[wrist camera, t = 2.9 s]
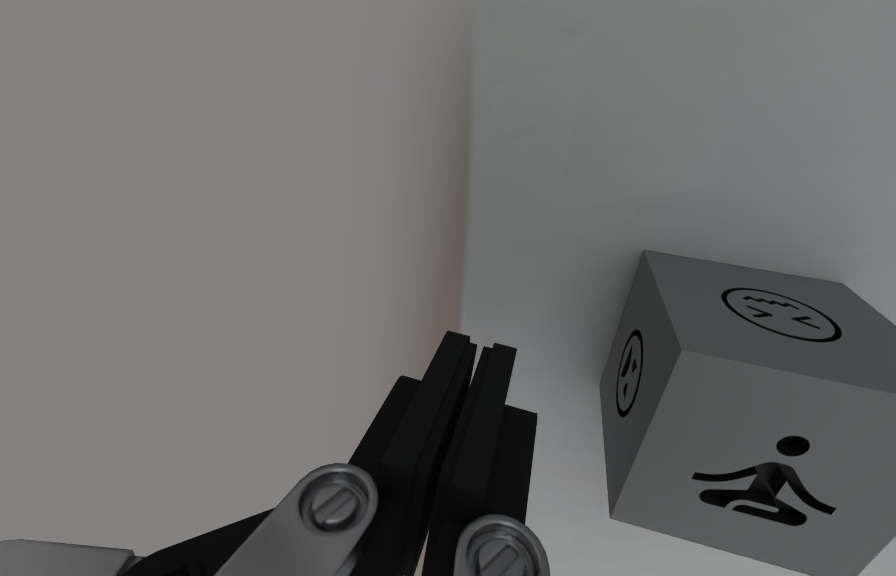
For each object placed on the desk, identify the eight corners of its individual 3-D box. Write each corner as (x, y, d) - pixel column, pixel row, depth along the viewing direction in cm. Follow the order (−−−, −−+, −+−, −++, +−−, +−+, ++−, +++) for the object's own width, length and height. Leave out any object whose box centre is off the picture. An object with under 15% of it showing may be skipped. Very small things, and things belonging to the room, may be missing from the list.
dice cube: (599, 385, 15) (609, 518, 10) (643, 250, 12) (681, 350, 8) (760, 422, 14) (847, 586, 9) (843, 284, 11) (1010, 418, 7)
